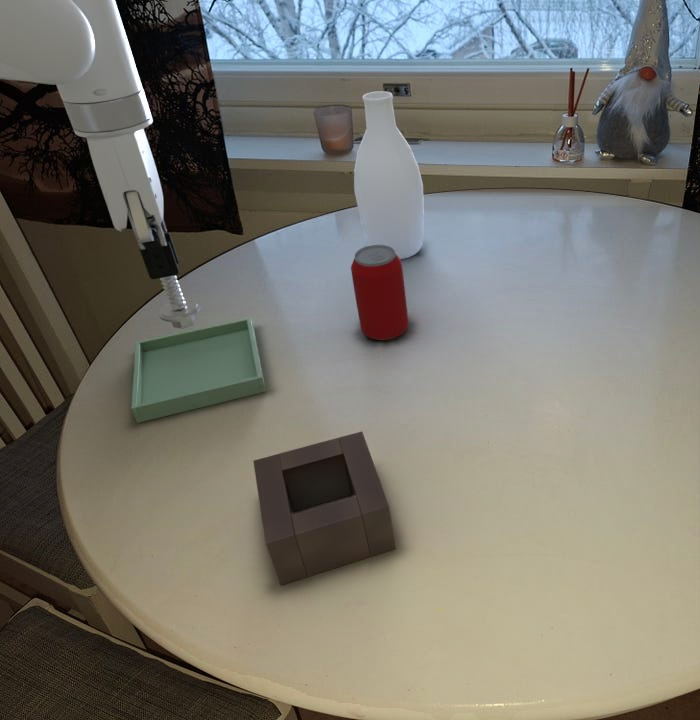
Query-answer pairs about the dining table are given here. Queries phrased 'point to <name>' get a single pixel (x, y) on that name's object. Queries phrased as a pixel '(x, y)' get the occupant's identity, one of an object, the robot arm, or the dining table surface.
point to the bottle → (388, 181)
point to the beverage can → (380, 292)
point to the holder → (322, 507)
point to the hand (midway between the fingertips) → (164, 270)
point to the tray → (195, 369)
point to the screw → (177, 304)
